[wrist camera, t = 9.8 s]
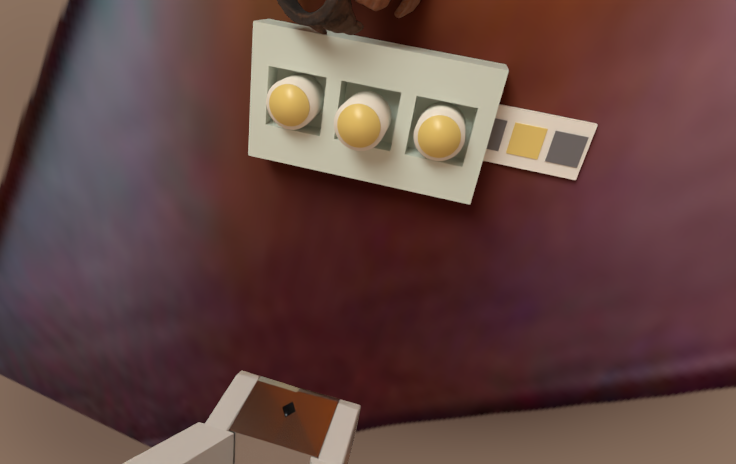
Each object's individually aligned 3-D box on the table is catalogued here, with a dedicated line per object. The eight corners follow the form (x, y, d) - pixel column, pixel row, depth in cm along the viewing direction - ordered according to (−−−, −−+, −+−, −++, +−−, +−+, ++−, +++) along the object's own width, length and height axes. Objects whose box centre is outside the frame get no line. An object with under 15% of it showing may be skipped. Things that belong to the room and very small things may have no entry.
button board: (505, 64, 34) (508, 70, 32) (470, 190, 39) (470, 204, 36) (269, 18, 36) (253, 21, 33) (262, 144, 41) (248, 155, 38)
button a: (471, 107, 35) (471, 117, 32) (459, 153, 37) (458, 166, 34) (423, 97, 35) (419, 106, 33) (413, 143, 37) (408, 156, 34)
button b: (395, 96, 34) (388, 105, 31) (386, 143, 36) (379, 156, 33) (347, 86, 35) (336, 94, 32) (340, 134, 36) (330, 145, 33)
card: (596, 123, 35) (598, 125, 34) (574, 178, 37) (576, 180, 37) (475, 99, 36) (475, 100, 35) (460, 154, 38) (460, 156, 37)
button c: (327, 78, 36) (315, 85, 33) (322, 124, 38) (310, 135, 35) (282, 68, 36) (266, 75, 34) (279, 115, 38) (263, 125, 35)
